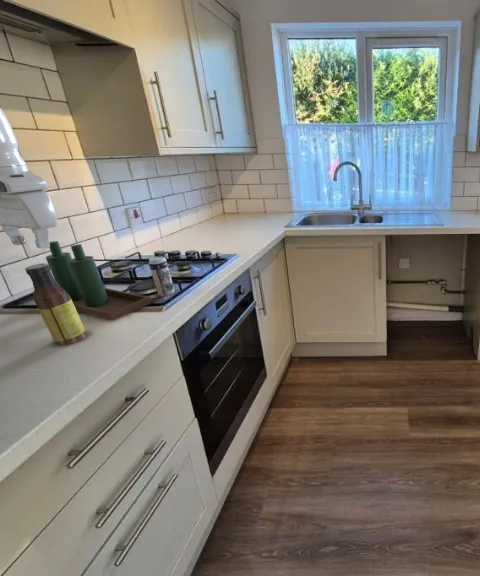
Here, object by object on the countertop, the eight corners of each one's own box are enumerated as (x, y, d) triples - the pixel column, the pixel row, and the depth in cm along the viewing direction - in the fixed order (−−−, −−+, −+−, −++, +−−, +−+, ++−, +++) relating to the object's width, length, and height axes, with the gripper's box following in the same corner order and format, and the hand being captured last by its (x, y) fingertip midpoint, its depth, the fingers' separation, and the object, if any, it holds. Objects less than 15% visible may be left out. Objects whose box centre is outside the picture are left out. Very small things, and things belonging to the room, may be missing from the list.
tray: (44, 305, 110) (41, 297, 109) (86, 290, 119) (83, 283, 118) (112, 322, 98) (109, 313, 97) (152, 304, 108) (149, 296, 107)
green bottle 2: (81, 305, 107) (58, 247, 100) (101, 298, 112) (80, 242, 105) (93, 308, 105) (70, 249, 98) (112, 300, 110) (92, 243, 103)
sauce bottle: (91, 332, 93) (62, 259, 85) (82, 344, 88) (51, 267, 80) (60, 337, 91) (28, 263, 83) (49, 350, 86) (13, 272, 78)
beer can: (168, 297, 113) (157, 261, 108) (154, 296, 113) (143, 260, 109) (178, 291, 117) (169, 256, 112) (165, 290, 118) (155, 255, 113)
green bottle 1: (59, 300, 111) (35, 243, 104) (79, 293, 116) (58, 239, 109) (70, 303, 109) (47, 245, 102) (90, 295, 114) (69, 240, 107)
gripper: (-42, 182, 76) (-12, 246, 81) (11, 184, 68) (41, 254, 74) (-4, 178, 81) (22, 238, 86) (50, 180, 74) (75, 245, 79)
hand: (31, 246), depth 80 cm, fingers open, 8 cm apart
